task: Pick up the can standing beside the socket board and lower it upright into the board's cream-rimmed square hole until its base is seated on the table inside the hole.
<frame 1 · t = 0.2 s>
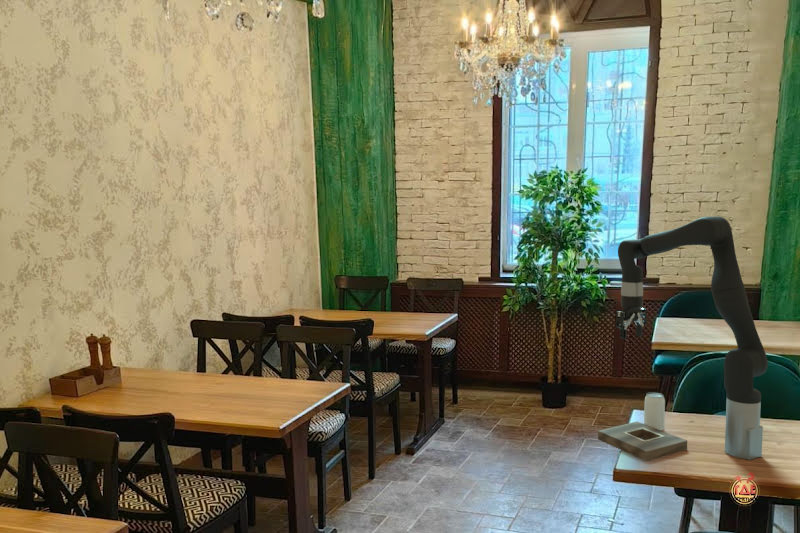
hand: (631, 337, 229), 28 cm above the table, tool pointing down, fingers open, 8 cm apart
socket board: (643, 443, 202), on the table
can: (653, 429, 215), on the table
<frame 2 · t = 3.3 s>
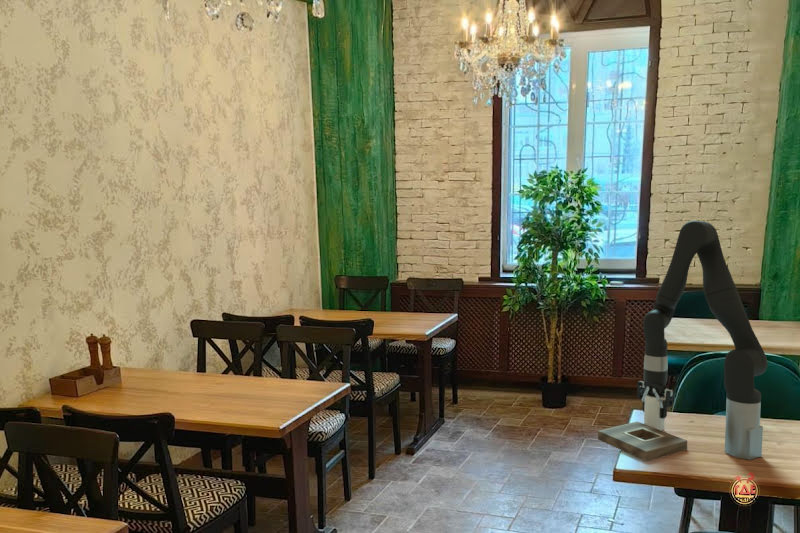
hand: (654, 414, 215), 5 cm above the table, tool pointing down, fingers closed on can, 6 cm apart
can: (653, 429, 215), on the table, touching gripper
when the fingers open (6 cm above the table, at t = 9.7 s): can drops 1 cm, resting in socket board.
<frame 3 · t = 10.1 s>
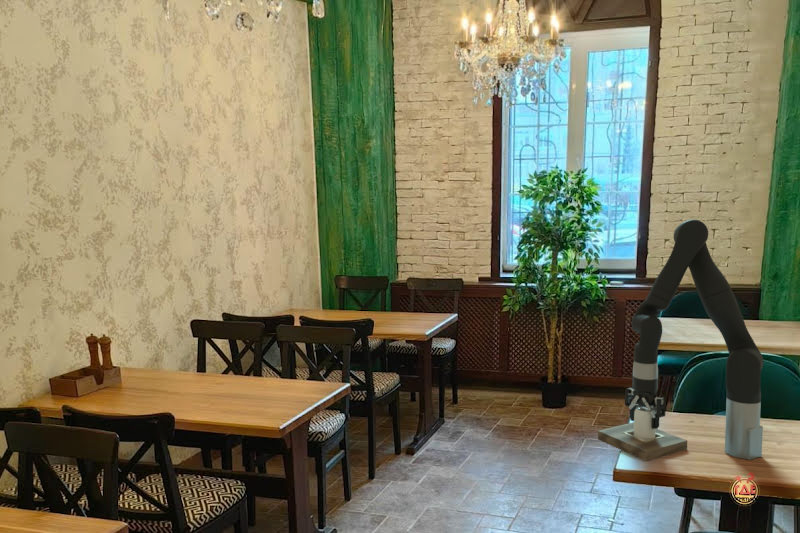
hand: (644, 424, 201), 7 cm above the table, tool pointing down, fingers open, 8 cm apart
can: (644, 444, 202), resting in socket board
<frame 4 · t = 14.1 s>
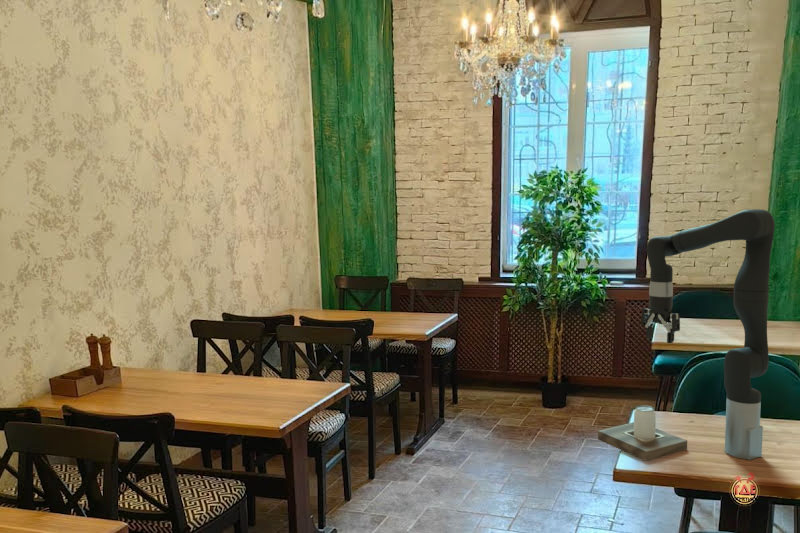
hand: (659, 340, 216), 30 cm above the table, tool pointing down, fingers open, 8 cm apart
nothing on the table moved.
at the end: can 0.2 cm off-centre on the socket board, point 0.0 cm above the socket board's base; can tilted 0°; the gripper is holding nothing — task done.
